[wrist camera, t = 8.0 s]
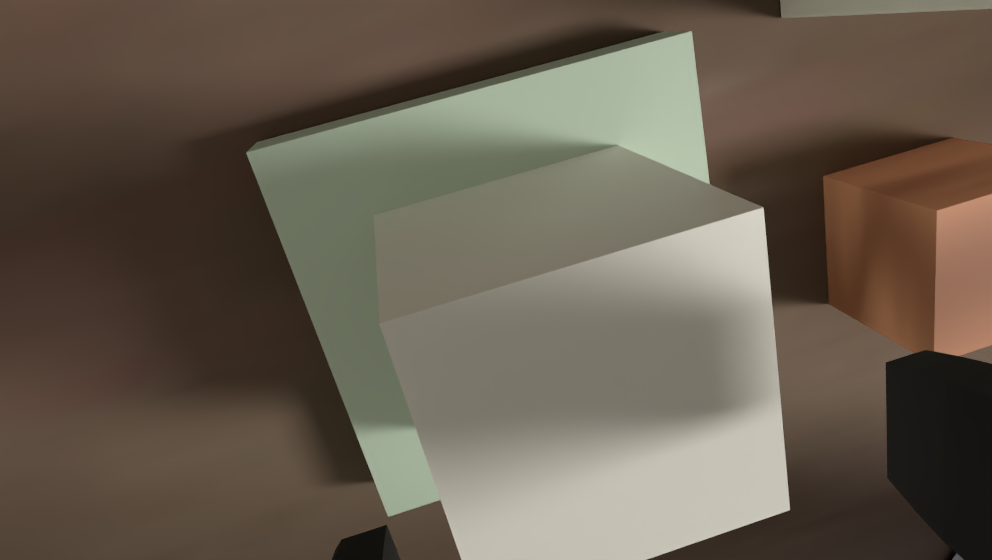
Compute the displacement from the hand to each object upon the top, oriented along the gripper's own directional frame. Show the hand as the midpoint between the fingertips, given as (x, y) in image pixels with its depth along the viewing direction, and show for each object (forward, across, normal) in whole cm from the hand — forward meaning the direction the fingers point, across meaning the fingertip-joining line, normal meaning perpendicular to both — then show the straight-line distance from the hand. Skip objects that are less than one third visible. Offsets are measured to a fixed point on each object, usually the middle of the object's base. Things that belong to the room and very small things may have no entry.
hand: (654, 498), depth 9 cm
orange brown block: (+9, -11, +2) cm, 15 cm away
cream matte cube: (+8, 0, 0) cm, 8 cm away
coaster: (+9, 0, 0) cm, 9 cm away
